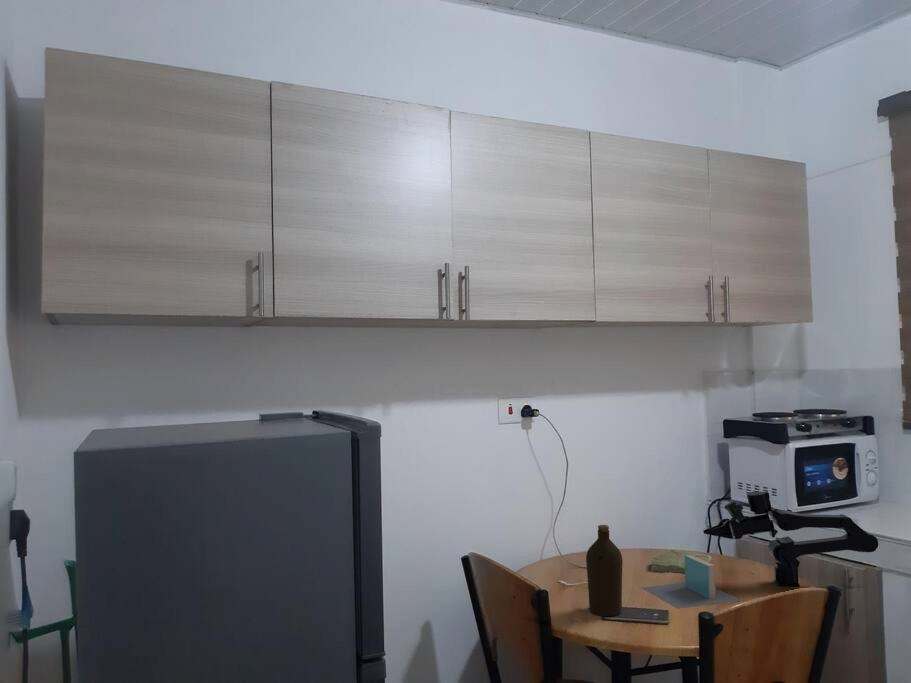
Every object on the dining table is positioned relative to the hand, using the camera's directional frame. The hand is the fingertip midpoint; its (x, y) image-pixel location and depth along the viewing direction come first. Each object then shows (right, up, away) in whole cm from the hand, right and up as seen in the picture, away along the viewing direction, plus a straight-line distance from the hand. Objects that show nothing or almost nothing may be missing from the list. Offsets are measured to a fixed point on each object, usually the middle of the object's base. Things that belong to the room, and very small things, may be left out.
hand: (705, 532), depth 229 cm
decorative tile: (-3, -17, +16) cm, 24 cm away
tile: (-7, -15, -14) cm, 22 cm away
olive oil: (-39, -16, -27) cm, 50 cm away
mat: (-10, -16, -15) cm, 24 cm away
